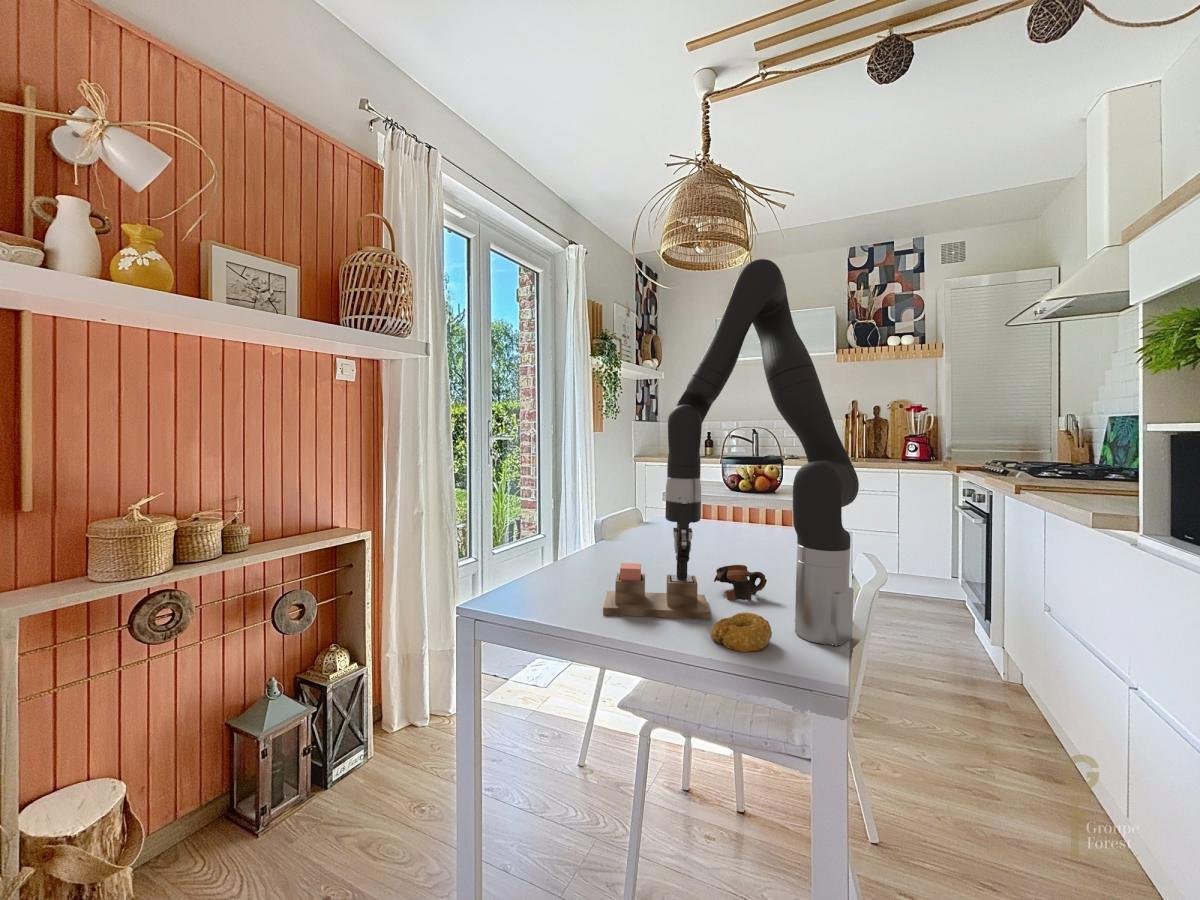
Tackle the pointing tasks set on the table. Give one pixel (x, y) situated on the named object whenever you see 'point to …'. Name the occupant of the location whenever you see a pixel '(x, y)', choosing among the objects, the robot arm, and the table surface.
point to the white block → (675, 579)
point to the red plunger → (630, 572)
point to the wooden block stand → (656, 600)
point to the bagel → (742, 632)
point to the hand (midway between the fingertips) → (681, 577)
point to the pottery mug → (740, 581)
